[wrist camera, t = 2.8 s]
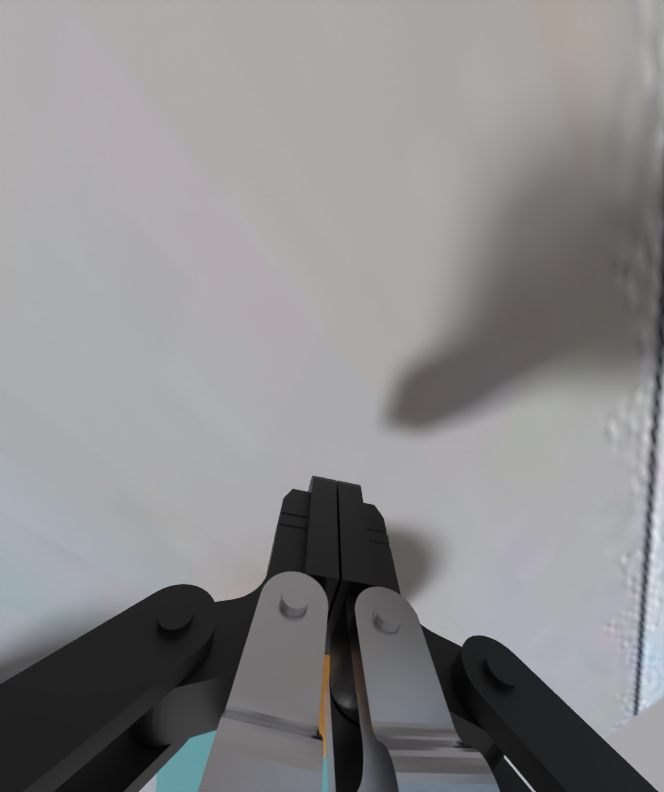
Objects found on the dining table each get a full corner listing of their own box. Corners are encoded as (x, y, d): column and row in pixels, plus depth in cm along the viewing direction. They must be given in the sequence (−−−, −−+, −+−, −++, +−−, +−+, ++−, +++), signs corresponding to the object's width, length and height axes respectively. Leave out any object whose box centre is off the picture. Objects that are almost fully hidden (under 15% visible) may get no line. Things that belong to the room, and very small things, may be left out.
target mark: (162, 711, 19) (161, 716, 19) (363, 735, 20) (364, 739, 20) (156, 811, 23) (154, 816, 23) (323, 826, 24) (323, 830, 24)
